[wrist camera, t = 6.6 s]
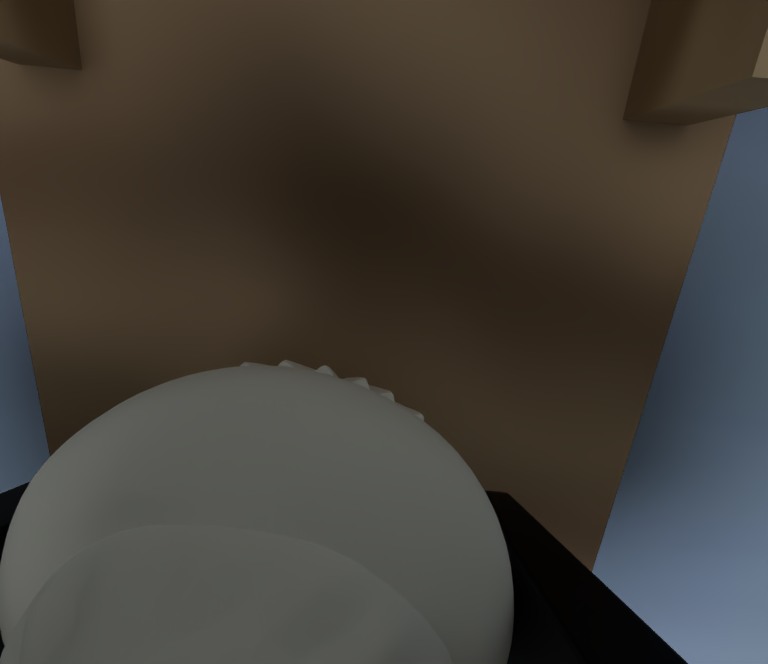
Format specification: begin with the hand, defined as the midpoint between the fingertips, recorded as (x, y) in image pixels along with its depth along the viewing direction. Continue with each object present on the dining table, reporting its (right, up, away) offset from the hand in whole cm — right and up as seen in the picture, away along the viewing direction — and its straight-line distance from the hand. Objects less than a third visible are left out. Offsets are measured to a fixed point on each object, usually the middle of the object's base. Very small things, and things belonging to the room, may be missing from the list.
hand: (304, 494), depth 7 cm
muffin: (0, +1, +2) cm, 2 cm away
